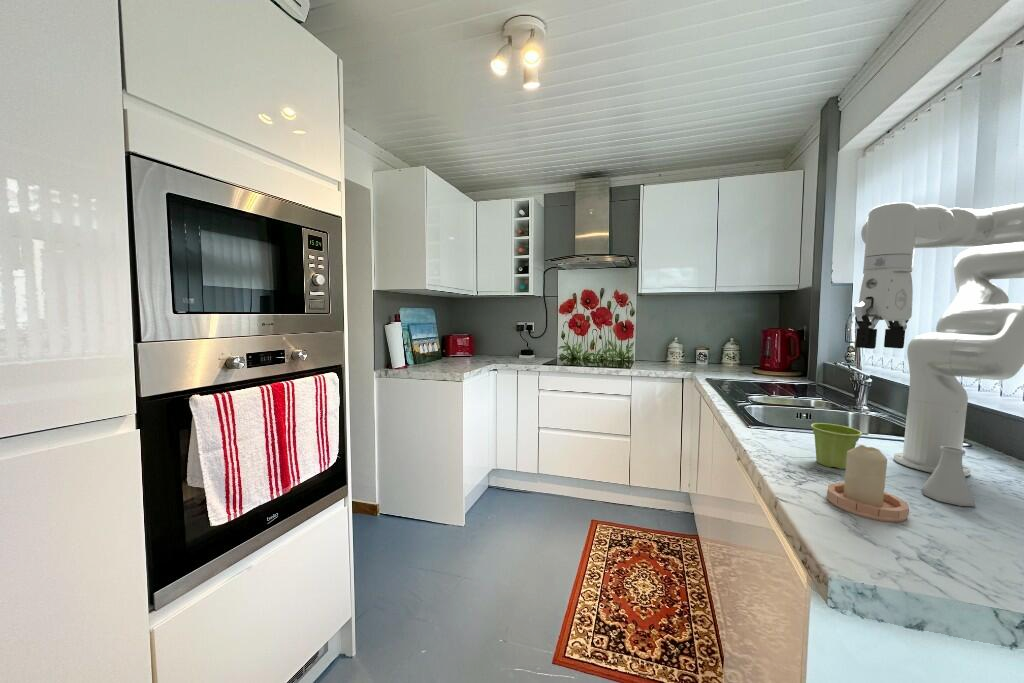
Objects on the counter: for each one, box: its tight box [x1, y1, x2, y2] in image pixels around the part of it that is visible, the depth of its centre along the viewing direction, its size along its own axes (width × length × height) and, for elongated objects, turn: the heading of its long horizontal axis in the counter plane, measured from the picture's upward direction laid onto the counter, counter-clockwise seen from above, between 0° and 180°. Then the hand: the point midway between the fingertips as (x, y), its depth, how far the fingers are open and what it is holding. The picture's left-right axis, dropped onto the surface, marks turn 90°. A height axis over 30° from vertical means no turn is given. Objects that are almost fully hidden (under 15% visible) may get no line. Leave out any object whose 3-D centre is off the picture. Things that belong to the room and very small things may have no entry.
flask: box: [920, 446, 977, 507], centre depth 78 cm, size 7×7×10 cm
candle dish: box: [826, 482, 910, 523], centre depth 74 cm, size 11×11×2 cm
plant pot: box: [810, 422, 863, 470], centre depth 95 cm, size 9×9×9 cm
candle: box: [843, 444, 888, 507], centre depth 74 cm, size 6×6×10 cm
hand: (879, 347), depth 85 cm, fingers open, 9 cm apart
